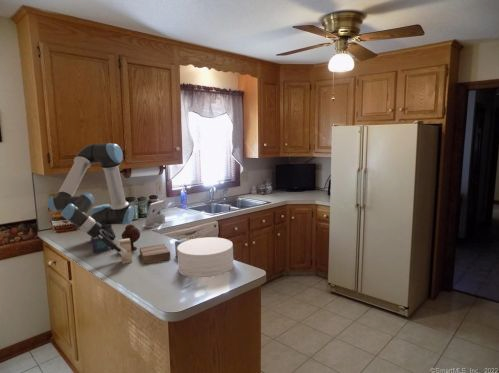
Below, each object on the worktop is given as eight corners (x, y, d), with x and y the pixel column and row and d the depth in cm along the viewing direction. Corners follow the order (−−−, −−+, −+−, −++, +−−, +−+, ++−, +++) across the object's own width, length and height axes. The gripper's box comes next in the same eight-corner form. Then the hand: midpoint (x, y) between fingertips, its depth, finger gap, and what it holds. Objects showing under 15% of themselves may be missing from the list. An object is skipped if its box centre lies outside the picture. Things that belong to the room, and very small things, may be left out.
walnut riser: (140, 254, 196) (139, 247, 196) (164, 250, 202) (164, 243, 202) (144, 263, 182) (143, 256, 182) (170, 258, 188) (170, 251, 187)
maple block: (121, 260, 187) (119, 239, 185) (131, 259, 189) (129, 238, 187) (122, 263, 183) (120, 242, 181) (132, 262, 185) (130, 240, 183)
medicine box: (186, 252, 198) (185, 237, 197) (191, 253, 196) (190, 239, 194) (175, 256, 192) (174, 241, 191) (180, 257, 189) (179, 242, 188)
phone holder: (156, 221, 273) (155, 199, 270) (167, 222, 268) (165, 199, 266) (141, 226, 257) (139, 203, 254) (151, 228, 253) (150, 204, 250)
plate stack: (239, 258, 186) (238, 238, 184) (224, 280, 159) (223, 256, 157) (191, 255, 192) (190, 236, 191) (168, 276, 165) (167, 253, 164)
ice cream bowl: (118, 251, 203) (116, 226, 200) (131, 245, 213) (129, 222, 211) (133, 253, 199) (131, 228, 197) (145, 247, 209) (143, 223, 207)
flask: (107, 248, 208) (106, 231, 206) (110, 249, 206) (108, 232, 204) (92, 253, 201) (90, 235, 199) (94, 254, 199) (93, 236, 197)
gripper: (86, 226, 186) (117, 249, 195) (85, 238, 164) (121, 263, 172) (95, 216, 188) (126, 238, 196) (96, 226, 165) (131, 251, 173)
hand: (124, 250), depth 184 cm, fingers open, 13 cm apart
